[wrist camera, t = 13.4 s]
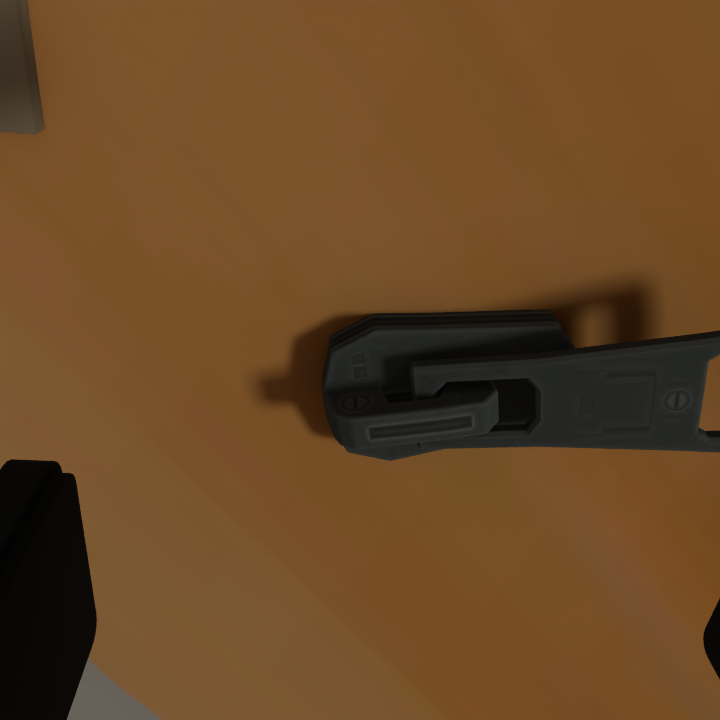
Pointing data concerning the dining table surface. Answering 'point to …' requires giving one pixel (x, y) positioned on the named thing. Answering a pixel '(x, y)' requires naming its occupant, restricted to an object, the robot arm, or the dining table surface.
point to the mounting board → (18, 71)
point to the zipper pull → (510, 386)
